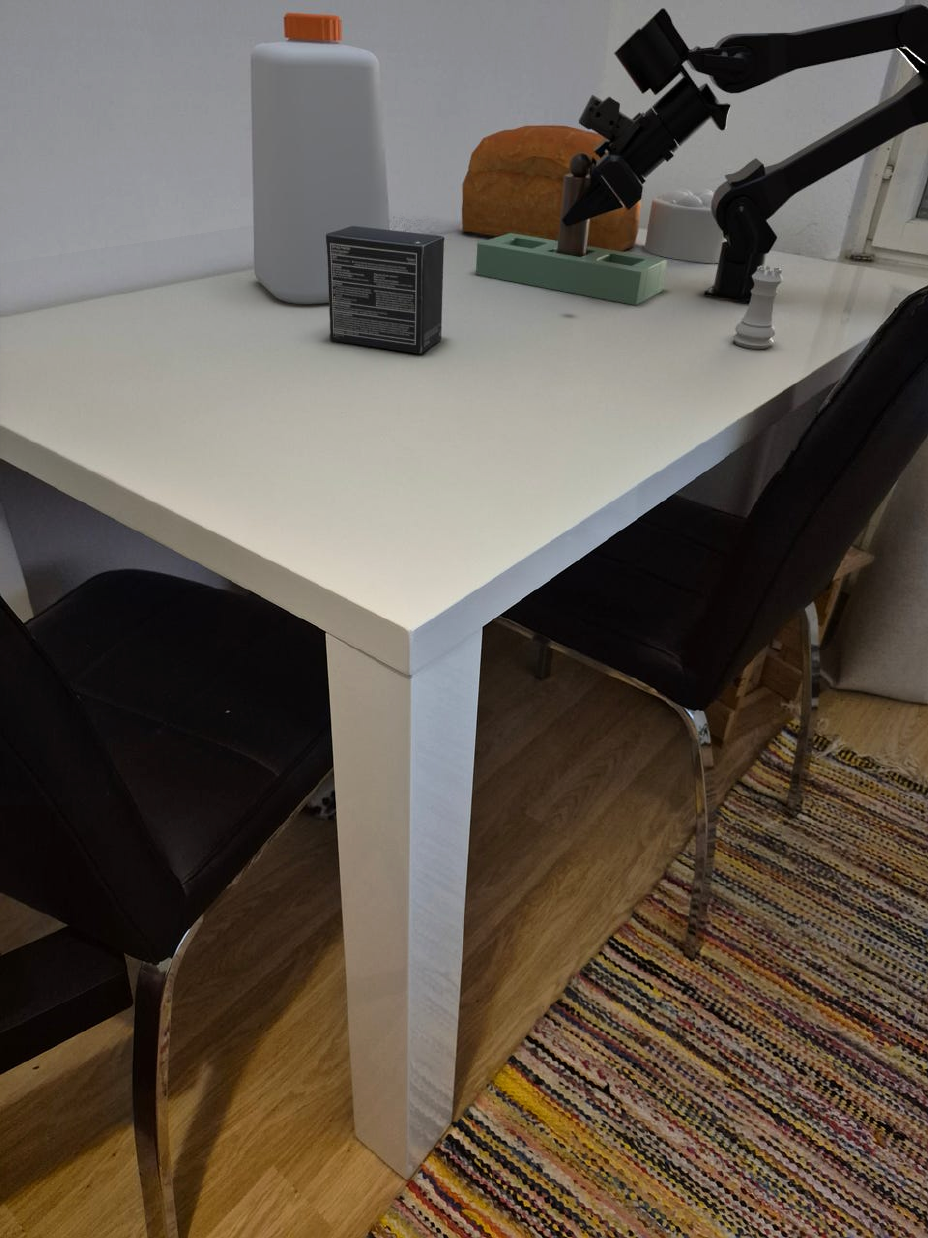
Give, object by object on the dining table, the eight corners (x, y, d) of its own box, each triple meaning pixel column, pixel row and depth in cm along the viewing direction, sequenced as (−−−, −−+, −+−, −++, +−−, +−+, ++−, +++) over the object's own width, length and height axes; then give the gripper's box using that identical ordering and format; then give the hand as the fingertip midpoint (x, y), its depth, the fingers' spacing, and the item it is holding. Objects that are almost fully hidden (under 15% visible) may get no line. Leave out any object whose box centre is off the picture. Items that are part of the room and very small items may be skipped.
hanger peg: (577, 272, 118) (590, 150, 110) (587, 279, 115) (602, 154, 107) (550, 272, 117) (562, 150, 109) (560, 279, 114) (572, 154, 106)
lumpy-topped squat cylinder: (718, 265, 129) (730, 201, 125) (634, 252, 134) (643, 190, 129) (735, 253, 137) (748, 192, 132) (656, 241, 142) (665, 182, 137)
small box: (444, 338, 93) (448, 233, 88) (422, 356, 88) (424, 245, 82) (354, 325, 96) (351, 222, 90) (327, 341, 91) (323, 232, 85)
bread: (496, 220, 151) (502, 114, 142) (643, 242, 141) (660, 130, 132) (450, 234, 139) (454, 120, 130) (608, 260, 129) (624, 138, 120)
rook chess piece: (775, 341, 98) (794, 267, 94) (769, 352, 95) (788, 275, 90) (735, 335, 100) (751, 261, 95) (728, 345, 96) (744, 269, 92)
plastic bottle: (360, 270, 116) (356, 15, 101) (403, 300, 105) (406, 19, 90) (248, 277, 111) (224, 8, 95) (280, 309, 100) (260, 11, 84)
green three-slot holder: (508, 262, 124) (510, 232, 122) (662, 291, 115) (667, 259, 113) (475, 274, 118) (477, 242, 116) (636, 305, 108) (641, 271, 106)
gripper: (621, 66, 110) (527, 158, 117) (628, 72, 95) (519, 178, 102) (673, 140, 114) (579, 226, 121) (688, 158, 99) (579, 255, 106)
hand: (564, 220), depth 112 cm, fingers closed on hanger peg, 4 cm apart
